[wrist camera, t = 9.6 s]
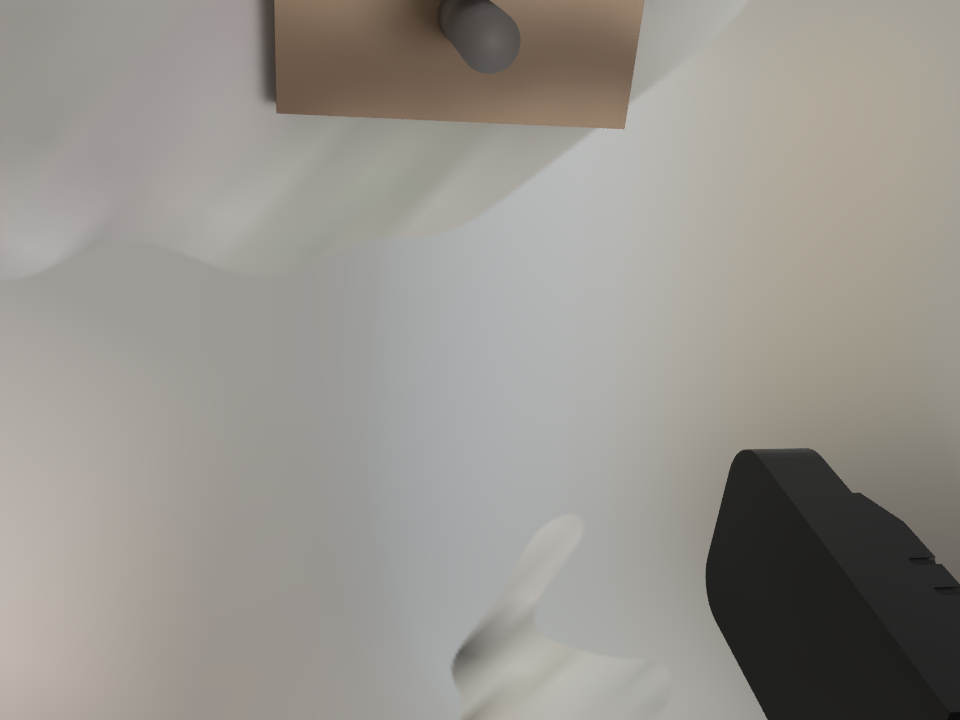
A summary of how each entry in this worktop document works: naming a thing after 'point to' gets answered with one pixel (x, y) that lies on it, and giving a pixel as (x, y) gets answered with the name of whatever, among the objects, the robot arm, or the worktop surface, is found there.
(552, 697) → the worktop surface
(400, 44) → the tong rest
